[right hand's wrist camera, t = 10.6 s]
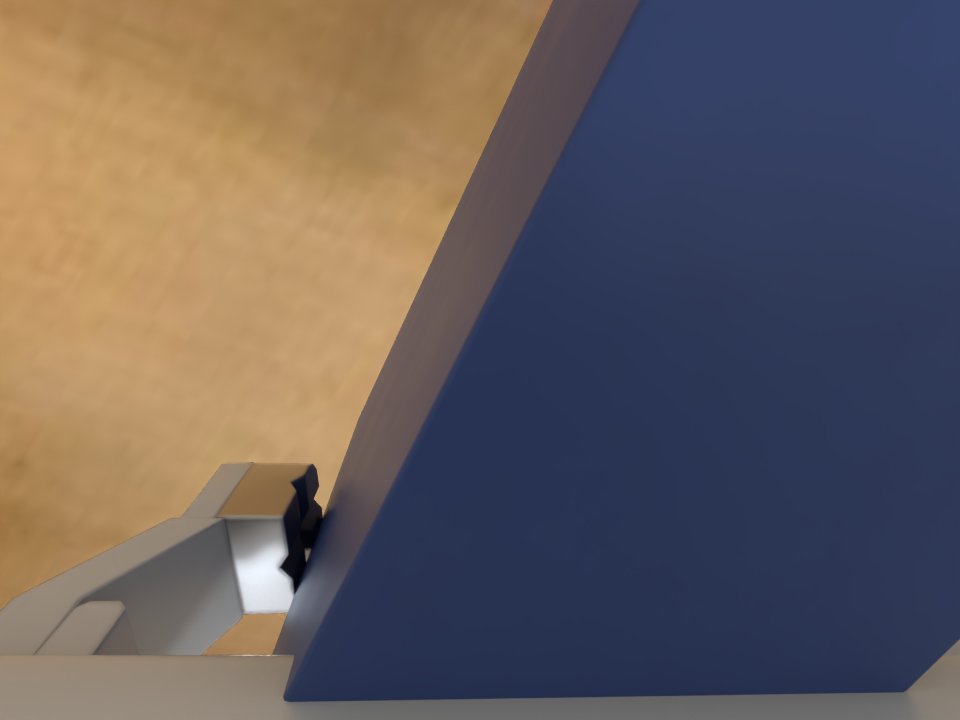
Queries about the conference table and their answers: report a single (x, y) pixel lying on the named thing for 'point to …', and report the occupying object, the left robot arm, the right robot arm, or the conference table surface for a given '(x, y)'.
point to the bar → (670, 377)
